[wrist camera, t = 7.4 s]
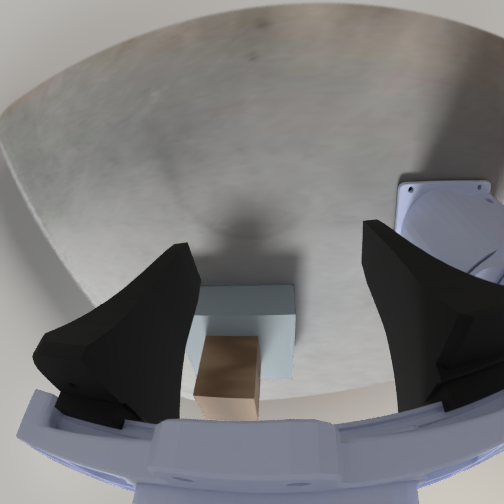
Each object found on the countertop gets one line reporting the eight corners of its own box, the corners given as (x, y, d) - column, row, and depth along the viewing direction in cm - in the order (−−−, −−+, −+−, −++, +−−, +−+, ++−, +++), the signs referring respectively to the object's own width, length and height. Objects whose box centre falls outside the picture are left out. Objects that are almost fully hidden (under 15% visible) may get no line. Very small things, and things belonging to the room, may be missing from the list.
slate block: (293, 281, 25) (295, 314, 22) (291, 349, 31) (292, 379, 28) (182, 283, 26) (171, 314, 23) (203, 349, 32) (197, 377, 29)
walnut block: (258, 336, 24) (254, 398, 19) (261, 365, 26) (257, 421, 21) (205, 335, 24) (193, 395, 19) (214, 364, 27) (205, 418, 22)
